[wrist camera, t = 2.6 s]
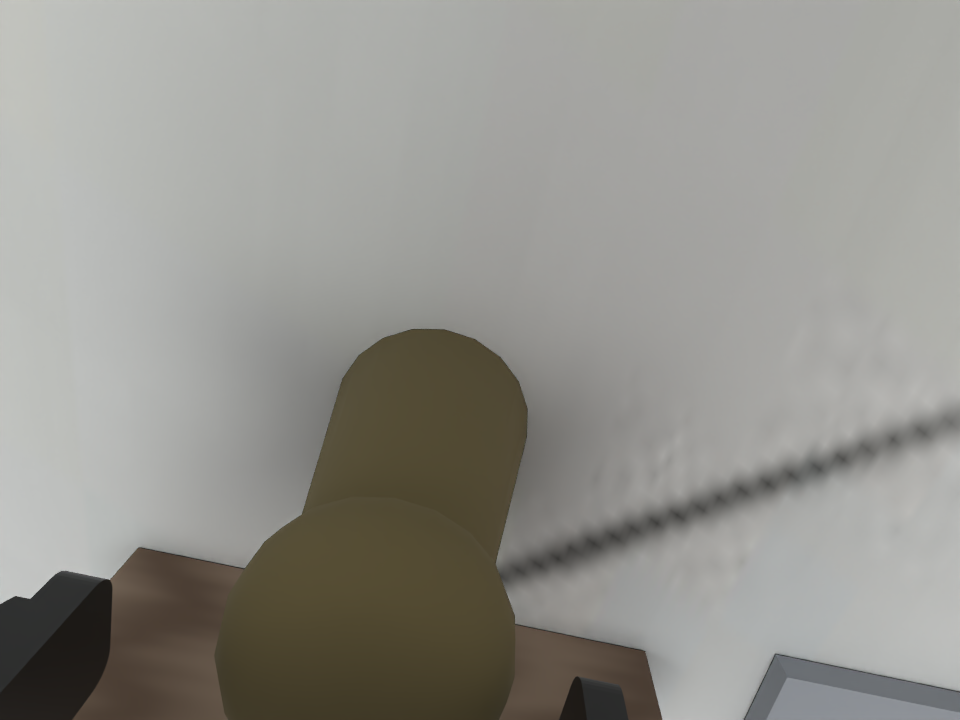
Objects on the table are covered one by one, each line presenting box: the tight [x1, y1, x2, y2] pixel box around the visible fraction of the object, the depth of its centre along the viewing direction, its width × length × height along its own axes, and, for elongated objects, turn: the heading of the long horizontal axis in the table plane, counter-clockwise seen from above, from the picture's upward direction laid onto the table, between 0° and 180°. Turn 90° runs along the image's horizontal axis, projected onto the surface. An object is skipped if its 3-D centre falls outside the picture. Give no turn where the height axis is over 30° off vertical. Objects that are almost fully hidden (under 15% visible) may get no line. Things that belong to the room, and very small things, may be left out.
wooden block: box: [72, 548, 662, 720], centre depth 20 cm, size 18×2×7 cm, turn 78°
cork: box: [214, 329, 527, 720], centre depth 15 cm, size 6×6×11 cm
